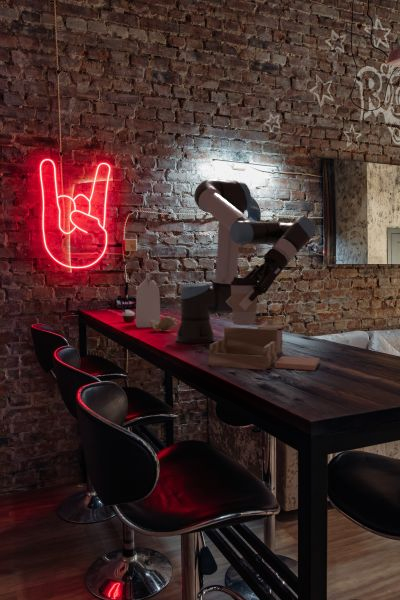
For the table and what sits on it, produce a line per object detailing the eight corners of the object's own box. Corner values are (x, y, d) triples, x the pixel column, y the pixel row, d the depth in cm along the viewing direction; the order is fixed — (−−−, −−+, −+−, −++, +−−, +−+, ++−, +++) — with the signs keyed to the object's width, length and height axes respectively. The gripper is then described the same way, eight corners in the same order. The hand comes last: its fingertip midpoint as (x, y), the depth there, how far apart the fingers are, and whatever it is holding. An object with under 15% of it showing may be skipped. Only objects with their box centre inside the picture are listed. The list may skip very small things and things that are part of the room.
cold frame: (224, 355, 184) (225, 327, 183) (276, 359, 178) (277, 329, 177) (208, 365, 167) (208, 334, 166) (265, 369, 161) (265, 336, 160)
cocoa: (136, 322, 286) (136, 299, 286) (137, 322, 280) (137, 300, 279) (118, 321, 284) (118, 299, 283) (118, 322, 278) (119, 299, 277)
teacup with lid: (287, 353, 190) (287, 320, 189) (263, 354, 187) (263, 321, 186) (273, 347, 201) (273, 316, 200) (250, 348, 199) (250, 317, 198)
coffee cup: (260, 322, 175) (260, 276, 173) (255, 326, 166) (256, 277, 165) (233, 321, 177) (233, 276, 176) (227, 325, 168) (227, 277, 167)
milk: (135, 324, 272) (135, 273, 270) (158, 323, 274) (157, 273, 272) (137, 327, 260) (136, 273, 258) (160, 326, 263) (160, 273, 261)
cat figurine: (148, 318, 247) (173, 310, 249) (152, 331, 250) (177, 323, 251) (151, 325, 240) (176, 317, 241) (155, 338, 243) (180, 330, 244)
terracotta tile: (281, 360, 175) (281, 356, 175) (319, 362, 172) (319, 358, 171) (274, 367, 164) (274, 362, 164) (314, 370, 160) (314, 365, 160)
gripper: (305, 264, 166) (258, 317, 161) (270, 263, 186) (228, 310, 181) (290, 247, 163) (243, 300, 159) (256, 247, 183) (213, 295, 179)
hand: (235, 305), depth 170 cm, fingers closed on coffee cup, 9 cm apart
